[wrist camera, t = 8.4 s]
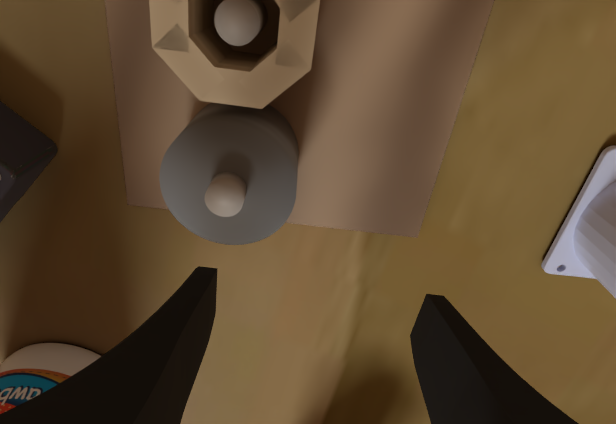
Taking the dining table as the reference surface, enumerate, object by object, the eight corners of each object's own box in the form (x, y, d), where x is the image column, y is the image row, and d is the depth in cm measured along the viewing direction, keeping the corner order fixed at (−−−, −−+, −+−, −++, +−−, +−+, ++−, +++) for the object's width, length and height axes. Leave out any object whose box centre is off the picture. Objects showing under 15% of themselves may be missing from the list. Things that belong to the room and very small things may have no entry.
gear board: (498, -31, 16) (579, -38, 11) (414, 231, 23) (443, 299, 18) (101, -94, 15) (3, -131, 10) (131, 199, 22) (80, 261, 17)
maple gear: (324, -53, 15) (328, -64, 12) (305, 89, 18) (305, 114, 15) (181, -76, 15) (143, -94, 12) (184, 73, 18) (154, 94, 14)
